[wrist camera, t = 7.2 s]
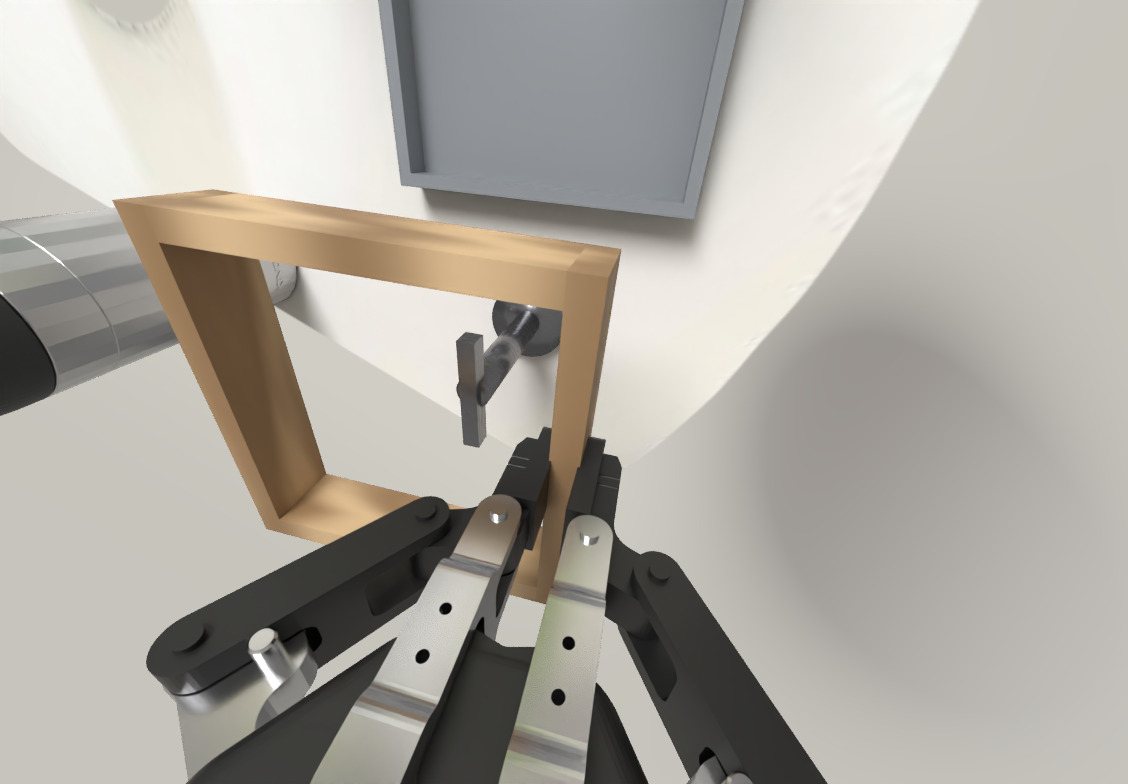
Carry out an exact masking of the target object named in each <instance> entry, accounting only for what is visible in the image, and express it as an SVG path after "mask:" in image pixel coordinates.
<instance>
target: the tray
mask: <svg viewBox="0 0 1128 784" xmlns="http://www.w3.org/2000/svg"><path fill="white" fill-rule="evenodd" d="M744 2H745V0H378V3H379V11H380V19H381V27H382V35H383V43H384V51H385V59H386V67H387V75H388V83H389V91H390V99H391V107H392V115H393V124H394V132H395V140H396V148H397V156H398V164H399V172H400V180H401V185H403V186H411V187H420V188H428V189H437V190H445V191H454V192H462V193H471V194H479V195H488V196H497V197H505V198H514V199H522V200H531V201H539V202H548V203H556V204H565V205H573V206H582V207H590V208H599V209H608V210H616V211H625V212H633V213H642V214H650V215H659V216H667V217H676V218H684V219H693V220H694V217H695V212H696V208H697V204H698V199H699V195H700V191H701V187H702V182H703V178H704V174H705V169H706V165H707V161H708V157H709V152H710V148H711V144H712V139H713V135H714V131H715V127H716V122H717V118H718V114H719V109H720V105H721V101H722V97H723V92H724V88H725V84H726V79H727V75H728V71H729V66H730V62H731V58H732V54H733V49H734V45H735V41H736V36H737V32H738V28H739V24H740V19H741V15H742V11H743V6H744Z"/></svg>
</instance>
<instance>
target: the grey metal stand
mask: <svg viewBox="0 0 1128 784" xmlns="http://www.w3.org/2000/svg"><path fill="white" fill-rule="evenodd" d="M562 317H563V311H559V310H553V309H547V308H541V307H535V306H529V305H524V304H518V303H512V302H506V301H500V300H497V301H496V302H495V305H494V308H493V312H492V320H493V326H494V329H495V331H496V333H497V335H498V338H497V339H496V340H495V341H494V343H493V344H492V345H491V346H490V347H489V348H488V349H487V351H486V352H485V353H484V351H483V335H480V334H474V333H468V332H465V333H464V334H463V335H462V336H461V337H460V338H459V339H458V340H457V341H456V347H457V360H458V374H459V383H458V384H457V394H458V396H459V398H460V402H461V415H462V429H463V443H464V445H469V446H474V447H480V445H481V444H482V442H483V440H484V439H485V437H486V411H485V405H486V404H487V402H488V401H489V400H490V398H491V397H492V395H493V394H494V392H495V391H496V389H497V388H498V387H499V385H500V384H501V382H502V381H503V379H504V378H505V377H506V375H507V374H508V372H509V371H510V369H511V368H512V366H513V365H514V364H515V362H516V361H517V359H518V358H519V356H520V355H525V356H541V355H544V354H547V353H549V352H550V351H552V350H553V349H554V348H555V347H556V346H557V345H558V344H559V342H560V338H561V327H562Z"/></svg>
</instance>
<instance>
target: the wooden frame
mask: <svg viewBox="0 0 1128 784" xmlns="http://www.w3.org/2000/svg"><path fill="white" fill-rule="evenodd" d="M112 201H113V203H114V205H115V207H116V209H117V211H118V213H119V216H120V218H121V220H122V222H123V224H124V226H125V228H126V230H127V233H128V235H129V237H130V239H131V241H132V243H133V245H134V247H135V250H136V252H137V254H138V256H139V258H140V260H141V262H142V265H143V267H144V269H145V271H146V273H147V275H148V277H149V279H150V282H151V284H152V286H153V288H154V290H155V292H156V294H157V296H158V299H159V301H160V303H161V305H162V307H163V309H164V311H165V314H166V316H167V318H168V320H169V322H170V324H171V326H172V328H173V331H174V333H175V335H176V337H177V339H178V341H179V343H180V345H181V348H182V350H183V352H184V354H185V356H186V358H187V360H188V362H189V365H190V366H191V369H192V371H193V373H194V375H195V377H196V380H197V382H198V384H199V386H200V388H201V390H202V392H203V394H204V397H205V399H206V401H207V403H208V405H209V407H210V409H211V411H212V413H213V416H214V418H215V420H216V422H217V424H218V426H219V428H220V431H221V433H222V435H223V437H224V439H225V441H226V443H227V446H228V448H229V450H230V452H231V454H232V456H233V458H234V461H235V463H236V465H237V467H238V469H239V471H240V473H241V475H242V478H243V479H244V482H245V484H246V486H247V488H248V490H249V492H250V494H251V497H252V499H253V501H254V503H255V505H256V507H257V509H258V512H259V514H260V516H261V518H262V520H263V522H264V524H265V527H266V529H269V530H273V531H277V532H281V533H284V534H288V535H291V536H295V537H299V538H303V539H306V540H310V541H314V542H317V543H321V544H325V545H327V544H329V543H331V542H333V541H335V540H337V539H339V538H341V537H343V536H345V535H347V534H349V533H351V532H353V531H355V530H357V529H359V528H361V527H363V526H365V525H367V524H369V523H371V522H373V521H375V520H377V519H379V518H380V517H382V516H384V515H386V514H388V513H390V512H392V511H394V510H396V509H398V508H400V507H402V506H404V505H406V504H408V503H410V502H412V501H414V500H416V499H419V498H422V497H419V496H414V495H410V494H406V493H402V492H398V491H394V490H390V489H386V488H381V487H378V486H374V485H369V484H365V483H361V482H357V481H353V480H349V479H345V478H341V477H336V476H333V475H328V474H326V472H325V469H324V465H323V462H322V459H321V456H320V453H319V449H318V446H317V443H316V440H315V437H314V434H313V430H312V427H311V424H310V421H309V418H308V415H307V411H306V408H305V405H304V402H303V398H302V395H301V392H300V389H299V386H298V382H297V379H296V376H295V373H294V369H293V366H292V363H291V360H290V357H289V354H288V350H287V347H286V344H285V341H284V338H283V334H282V331H281V328H280V324H279V321H278V318H277V315H276V312H275V308H274V305H273V302H272V299H271V296H270V292H269V289H268V286H267V283H266V280H265V276H264V273H263V270H262V267H261V264H260V260H265V261H271V262H276V263H282V264H288V265H294V266H300V267H306V268H312V269H318V270H323V271H329V272H335V273H341V274H347V275H353V276H359V277H365V278H371V279H376V280H382V281H388V282H394V283H400V284H406V285H412V286H418V287H424V288H429V289H435V290H441V291H447V292H453V293H459V294H465V295H471V296H476V297H482V298H488V299H494V300H500V301H506V302H512V303H518V304H524V305H529V306H535V307H541V308H547V309H553V310H559V311H563V317H562V327H561V338H560V349H559V359H558V370H557V380H556V391H555V401H554V412H553V422H552V433H551V443H550V454H549V461H551V467H550V477H549V487H548V497H547V507H546V511H545V514H544V517H543V527H541V526H540V529H539V532H538V535H537V538H536V541H535V544H534V547H533V550H532V551H530V550H526V549H524V552H523V555H522V558H521V560H520V563H519V568H518V572H517V574H516V577H515V580H514V583H513V586H512V588H511V591H510V594H509V595H514V596H517V597H521V598H524V599H528V600H532V601H535V602H539V603H543V604H546V603H547V599H548V595H549V592H550V588H551V586H552V585H553V582H554V578H555V574H556V571H557V567H558V563H559V559H560V558H559V555H560V548H561V541H562V533H563V526H564V519H565V512H566V507H567V503H568V500H569V496H570V492H571V489H572V485H573V482H574V478H575V475H576V471H577V468H578V467H580V465H581V461H582V458H583V454H584V450H585V447H586V443H587V439H588V436H590V437H591V432H592V426H593V420H594V414H595V408H596V401H597V395H598V389H599V383H600V377H601V371H602V365H603V358H604V352H605V346H606V340H607V334H608V328H609V322H610V316H611V309H612V303H613V297H614V291H615V285H616V279H617V273H618V266H619V260H620V254H621V249H617V248H610V247H603V246H596V245H589V244H583V243H576V242H569V241H562V240H555V239H548V238H542V237H535V236H528V235H521V234H514V233H507V232H500V231H494V230H487V229H480V228H473V227H466V226H459V225H453V224H446V223H439V222H432V221H425V220H418V219H411V218H405V217H398V216H391V215H384V214H377V213H370V212H364V211H357V210H350V209H343V208H336V207H329V206H322V205H316V204H309V203H302V202H295V201H288V200H281V199H275V198H268V197H261V196H254V195H247V194H240V193H233V192H227V191H220V190H204V191H194V192H185V193H175V194H166V195H156V196H147V197H137V198H128V199H118V200H112ZM448 506H449V509H467V508H463V507H459V506H455V505H451V504H448Z"/></svg>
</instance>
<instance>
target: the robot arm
mask: <svg viewBox="0 0 1128 784" xmlns="http://www.w3.org/2000/svg"><path fill="white" fill-rule="evenodd" d="M260 264H261V267H262V270H263V273H264V276H265V280H266V283H267V286H268V289H269V292H270V296H271V299H272V302H273V305H274V304H276V303H278V302H281V301H283V300H285V299H286V298H287V297H289V296H290V295H291V293H292V291H293V290H294V287H295V283H296V267H295V266H294V265H288V264H282V263H276V262H271V261H265V260H260ZM178 343H179V341H178V339H177V337H176V335H175V333H174V331H173V328H172V326H171V324H170V322H169V320H168V318H167V316H166V314H165V311H164V309H163V307H162V305H161V303H160V301H159V299H158V296H157V294H156V292H155V290H154V288H153V286H152V284H151V282H150V279H149V277H148V275H147V273H146V271H145V269H144V267H143V265H142V262H141V260H140V258H139V256H138V254H137V252H136V250H135V247H134V245H133V243H132V241H131V239H130V237H129V235H128V233H127V230H126V228H125V226H124V224H123V222H122V220H121V218H120V216H119V213H118V211H117V209H116V208H109V209H101V210H92V211H84V212H75V213H66V214H59V215H49V216H42V217H32V218H24V219H16V220H7V221H0V416H1V415H4V414H7V413H10V412H12V411H15V410H18V409H20V408H23V407H25V406H28V405H30V404H33V403H35V402H38V401H40V400H42V399H45V398H47V397H50V396H52V395H54V394H57V393H59V392H62V391H64V390H67V389H69V388H71V387H74V386H77V385H79V384H81V383H84V382H86V381H89V380H91V379H94V378H96V377H98V376H101V375H103V374H106V373H107V372H110V371H112V370H115V369H117V368H120V367H122V366H124V365H127V364H130V363H132V362H134V361H137V360H139V359H142V358H144V357H146V356H149V355H151V354H154V353H156V352H159V351H161V350H164V349H166V348H169V347H171V346H173V345H176V344H178ZM551 433H552V428H548V427H543V429H542V431H541V434H540V436H539V438H538V439H533V438H528V437H527V438H526V439H524V440H523V441H522V442H520V443H519V444H518V445H517V446H516V448H515V450H514V452H513V455H512V457H511V459H510V461H509V462H508V465H507V467H506V469H505V471H504V473H503V475H502V477H501V479H500V481H499V483H498V485H497V487H496V489H495V491H494V493H493V494H492V496H489V497H487V498H486V499H484V500H483V501H481V503H480V504H479V505H478V506H477V507H474V508H467V509H449V506H448V504H447V503H446V502H445V501H444V500H443V499H441V498H438V497H432V496H429V497H422V498H419V499H416V500H414V501H412V502H410V503H408V504H406V505H404V506H402V507H400V508H398V509H396V510H394V511H392V512H390V513H388V514H386V515H384V516H382V517H380V518H379V519H377V520H375V521H373V522H371V523H369V524H367V525H365V526H363V527H361V528H359V529H357V530H355V531H353V532H351V533H349V534H347V535H345V536H343V537H341V538H339V539H337V540H335V541H333V542H331V543H329V544H327V545H325V546H323V547H321V548H319V549H317V550H315V551H313V552H311V553H309V554H307V555H305V556H303V557H301V558H300V559H297V560H296V561H294V562H292V563H290V564H288V565H286V566H284V567H282V568H280V569H278V570H276V571H274V572H272V573H270V574H268V575H266V576H264V577H262V578H260V579H258V580H256V581H254V582H252V583H250V584H248V585H246V586H244V587H242V588H240V589H238V590H236V591H235V592H232V593H230V594H228V595H226V596H224V597H222V598H221V599H218V600H216V601H215V602H213V603H211V604H209V605H207V606H205V607H203V608H201V609H199V610H197V611H195V612H193V613H191V614H189V615H187V616H185V617H183V618H181V619H180V620H178V621H176V622H175V623H173V624H172V625H171V626H170V627H168V628H167V629H166V630H165V631H164V632H163V633H162V634H161V635H160V636H159V637H158V638H157V639H156V641H155V642H154V643H153V645H152V646H151V648H150V650H149V652H148V655H147V660H146V664H147V668H148V670H149V671H150V672H151V674H152V675H153V676H154V677H155V678H156V679H157V680H158V681H159V682H161V683H162V685H163V688H164V690H165V691H166V692H167V693H168V694H169V695H170V697H171V698H172V699H174V700H175V702H176V703H177V709H178V715H179V721H180V729H181V735H182V742H183V748H184V755H185V762H186V768H187V775H188V782H187V783H186V784H648V781H647V779H646V777H645V775H644V772H643V770H642V768H641V765H640V763H639V761H638V759H637V756H636V754H635V752H634V750H633V747H632V745H631V743H630V741H629V738H628V736H627V734H626V731H625V729H624V727H623V725H622V722H621V720H620V718H619V716H618V713H617V712H616V709H615V707H614V706H613V704H612V702H611V701H610V699H609V698H608V696H607V695H606V693H605V692H604V691H603V689H602V688H601V687H600V686H599V685H598V684H597V683H596V677H597V669H598V660H599V654H600V646H601V638H602V630H603V623H604V616H605V617H607V618H608V619H610V620H611V621H613V622H614V623H616V624H617V625H618V629H619V632H620V634H621V636H622V638H623V641H624V643H625V645H626V647H627V649H628V651H629V653H630V655H631V657H632V659H633V661H634V663H635V665H636V668H637V670H638V672H639V674H640V676H641V678H642V680H643V682H644V684H645V686H646V688H647V690H648V693H649V695H650V697H651V699H652V701H653V703H654V705H655V707H656V709H657V711H658V713H659V715H660V717H661V719H662V722H663V724H664V726H665V728H666V730H667V732H668V734H669V736H670V738H671V740H672V742H673V745H674V747H675V749H676V751H677V753H678V755H679V757H680V759H681V761H682V763H683V765H684V768H685V770H686V772H687V774H688V776H689V778H690V780H689V781H688V783H687V784H827V782H826V781H825V779H824V778H823V776H822V775H821V773H820V772H819V770H818V769H817V768H816V766H815V765H814V763H813V762H812V760H811V759H810V757H809V756H808V754H807V753H806V751H805V750H804V749H803V747H802V745H801V744H800V743H799V741H798V740H797V738H796V737H795V735H794V734H793V732H792V731H791V729H790V728H789V726H788V725H787V724H786V722H785V721H784V719H783V718H782V716H781V715H780V713H779V712H778V710H777V709H776V707H775V706H774V704H773V703H772V702H771V700H770V699H769V697H768V696H767V694H766V693H765V691H764V690H763V688H762V687H761V685H760V684H759V682H758V681H757V679H756V678H755V676H754V675H753V674H752V672H751V671H750V669H749V668H748V666H747V665H746V663H745V662H744V660H743V659H742V658H741V656H740V654H739V653H738V651H737V650H736V649H735V647H734V646H733V644H732V643H731V641H730V640H729V638H728V637H727V635H726V634H725V632H724V631H723V630H722V628H721V627H720V625H719V624H718V622H717V621H716V619H715V618H714V616H713V615H712V613H711V612H710V610H709V609H708V607H707V606H706V604H705V603H704V602H703V600H702V599H701V597H700V596H699V594H698V593H697V591H696V590H695V588H694V587H693V585H692V584H691V582H690V581H689V580H688V578H687V577H686V575H685V574H684V572H683V571H682V569H681V568H680V566H679V565H678V564H677V562H675V561H674V560H673V559H672V558H671V557H669V556H668V555H666V554H663V553H660V552H655V551H649V552H645V553H643V554H641V555H640V554H638V553H637V552H635V551H633V550H631V549H630V548H628V547H627V546H625V545H624V544H623V543H622V542H621V541H620V540H619V538H618V537H617V535H616V533H615V530H614V518H615V512H616V505H617V497H618V491H619V484H620V477H621V470H622V467H621V464H620V462H619V459H618V457H617V456H612V455H607V454H603V452H604V447H605V442H606V440H605V439H600V438H595V437H590V436H588V439H587V443H586V447H585V450H584V454H583V458H582V461H581V465H580V467H578V468H577V471H576V475H575V478H574V482H573V485H572V489H571V492H570V496H569V500H568V503H567V507H566V512H565V519H564V526H563V533H562V541H561V548H560V555H559V558H560V559H559V563H558V567H557V571H556V574H555V578H554V582H553V585H552V586H551V588H550V592H549V595H548V599H547V603H546V607H545V611H544V615H543V619H542V622H541V626H540V630H539V634H538V638H537V642H536V646H535V647H505V646H502V645H500V644H499V643H497V642H496V641H495V639H496V633H497V629H498V625H499V622H500V619H501V616H502V613H503V611H504V608H505V605H506V602H507V599H508V597H509V594H510V591H511V588H512V586H513V583H514V580H515V577H516V574H517V572H518V568H519V563H520V560H521V558H522V555H523V552H524V549H526V550H530V551H532V550H533V547H534V544H535V541H536V538H537V535H538V532H539V529H540V526H541V523H542V520H543V517H544V514H545V511H546V507H547V497H548V487H549V477H550V467H551V461H549V454H550V443H551ZM415 603H416V605H415V607H414V609H413V610H412V612H411V614H410V616H409V618H408V619H407V621H406V623H405V625H404V626H403V628H402V630H401V632H400V634H399V635H398V637H396V638H394V639H392V640H391V641H389V642H387V643H386V644H384V645H382V646H381V647H379V648H378V649H376V650H375V651H373V652H372V653H370V654H369V655H367V656H366V657H364V658H363V659H362V660H360V661H359V662H357V663H356V664H354V665H352V666H351V667H349V668H348V669H346V670H345V671H343V672H342V673H340V674H339V675H337V676H336V677H334V678H333V679H331V680H330V681H328V682H327V683H326V684H324V685H322V686H321V687H319V688H318V689H317V690H315V691H313V692H312V693H311V694H309V695H308V696H306V697H304V696H305V694H306V692H307V691H308V690H309V688H310V687H311V685H312V684H313V682H314V680H315V677H316V674H317V669H319V668H320V667H322V666H323V665H325V664H326V663H328V662H329V661H330V660H332V659H334V658H335V657H336V656H338V655H339V654H341V653H342V652H344V651H345V650H347V649H348V648H350V647H351V646H353V645H354V644H356V643H357V642H359V641H360V640H362V639H363V638H365V637H366V636H368V635H369V634H371V633H372V632H374V631H375V630H377V629H378V628H380V627H381V626H383V625H384V624H385V623H387V622H388V621H390V620H391V619H393V618H394V617H396V616H397V615H399V614H400V613H402V612H403V611H405V610H406V609H408V608H409V607H411V606H412V605H414V604H415ZM303 697H304V698H303Z"/></svg>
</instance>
